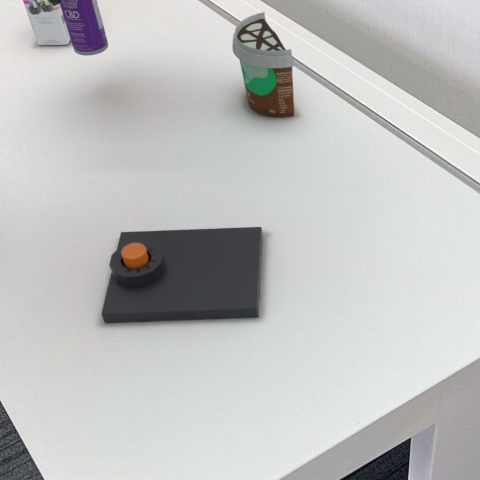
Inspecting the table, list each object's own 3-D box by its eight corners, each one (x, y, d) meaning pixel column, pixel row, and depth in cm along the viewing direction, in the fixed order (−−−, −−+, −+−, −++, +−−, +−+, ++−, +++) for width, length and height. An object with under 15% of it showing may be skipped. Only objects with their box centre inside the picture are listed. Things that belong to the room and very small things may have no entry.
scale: (104, 323, 79) (96, 303, 77) (123, 241, 88) (117, 220, 86) (258, 317, 80) (255, 296, 77) (262, 235, 88) (260, 215, 86)
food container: (229, 87, 110) (219, 18, 103) (270, 78, 112) (263, 10, 104) (254, 131, 103) (245, 60, 95) (297, 121, 104) (292, 51, 96)
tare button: (122, 270, 81) (119, 259, 80) (126, 253, 83) (123, 242, 82) (147, 269, 81) (144, 258, 80) (150, 252, 83) (147, 242, 82)
